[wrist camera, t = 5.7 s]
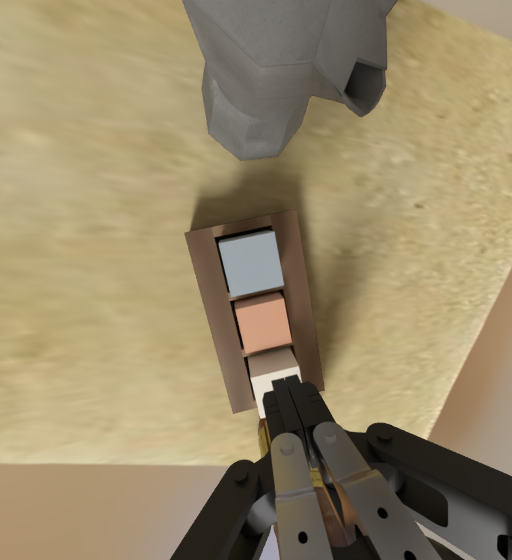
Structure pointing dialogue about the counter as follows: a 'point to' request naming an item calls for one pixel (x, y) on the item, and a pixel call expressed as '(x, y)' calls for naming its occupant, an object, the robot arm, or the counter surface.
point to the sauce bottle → (328, 515)
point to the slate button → (251, 262)
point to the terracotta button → (263, 321)
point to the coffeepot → (285, 64)
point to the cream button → (270, 371)
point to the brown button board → (220, 298)
